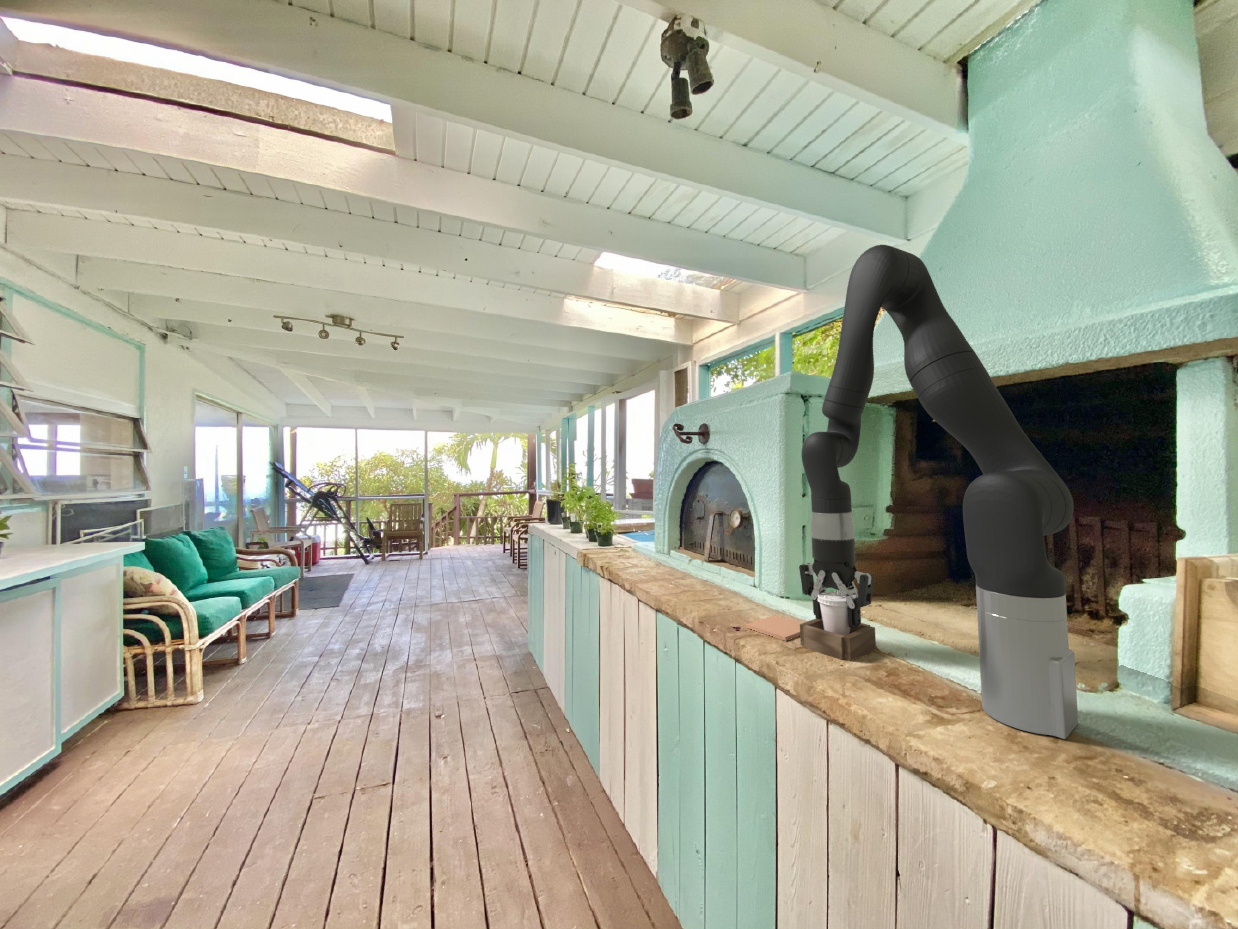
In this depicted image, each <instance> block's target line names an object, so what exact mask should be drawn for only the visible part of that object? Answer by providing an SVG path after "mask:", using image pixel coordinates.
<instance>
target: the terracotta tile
mask: <svg viewBox="0 0 1238 929" xmlns="http://www.w3.org/2000/svg"><path fill="white" fill-rule="evenodd" d="M802 623H803V622H802V621H797V620H795V619H790V618H788V617H787V618H786V617H783V616H780V615H777V614H774V615H771V616H769V617H765V618H762V619H759V620H755V621H753V622H750V623H746V624H745V627H747V628H749V629H748V630H750V629H752V630H751V631H753V630H755V631H754V632H756V631H757V632H756V633H759V632H763V633H765V634H767V635H766V636H768V635H770V636H769V637H771V636H773V637H772V638H774V637H775V638H774V639H777V638H780V639H782V640H781V641H783V640H785V641H784V642H787V641H786V640H788V641H789V639H790V640H792V639H791V638H793V639H795V638H797V637H800V624H802ZM747 628H746V629H747ZM765 634H764V635H765ZM780 639H779V640H780Z"/></svg>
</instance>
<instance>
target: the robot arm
mask: <svg viewBox="0 0 1238 929" xmlns="http://www.w3.org/2000/svg"><path fill="white" fill-rule="evenodd" d="M843 308H844V309H843V315H842V322H841V327H840V328H841V329H840V335H839V341H838V347H837V348H838V349H837V354H836V358H835V363H834V367H833V371H832V374H831V377H830V380H829V383H828V386H827V389H826V392H825V396H824V399H823V401H822V402H823V403H822V407H821V413H822V414H823V416H824V417H826V418H827V420H828V421H827V427H826V428H827V429H826V431H816V432H812V433H811V434H809V435H808V436H807V437H806V438H805V440H804V441H803V444H802V448H801V462H802V466H803V470H804V473H805V476H806V480H807V483H808V485H809V488H810V493H811V494H810V498H811V500H810V501H811V518H810V521H811V522H810V532H811V533H810V534H811V551H812V552H811V553H812V554H811V555H812V558H813V563H812V564H811V563H809V562H806V563H803V564H800V565H799V567H798V569H799V577H800V582H801V587H802V593H803V595H805V596H806V595H807V596H809V597H810V598H811V599H812V609H813V610H812V612H813V615H814V616H815V619H819V620H820V619H822V613H821V608H820V602H818V594H820V593H825V592H827V590H828V589H833V590H835V591H836V590H840V593H841V595H842V596H843V597H845V599H846V601H847V603H848V606H849V608H848V622H849V627H850V628H856V627H858V625H860V623H862V614H861V613H862V612H861V611H862V610H861V608H863V607H867V606H870V605H871V604H872V598H873V597H872V596H873V586H874V585H873V584H874V575H873V573H871V572H867V573H865V572H861V571H858V569H857V567H856V565H855V562H856V545H855V542H856V541H855V525H854V523H855V522H854V519H853V510H852V493H851V487H850V485H849V484H848V483H847V482H845V481H844V480H843V481H842V480H841V476H840V473H839V468H844V467H846V466H848V465H849V464H850V463H851V462H852V461H853V459H854V458H855V456H856V455H857V452H858V449H859V445H860V439H861V438H860V437H861V430H862V415H863V413H864V409H865V407H866V404H867V401H868V399H869V395H870V392H871V389H872V385H873V381H874V375H875V360H874V359H875V358H874V357H875V356H874V333H875V327H876V322H877V319H878V317H879V313H880V311H881V308H882V309H883V310H885V312H886V313H887V314H888V315H889V316H890V318H891V319H892V321H893V322H894V324H895V326H896V327H897V328H898V330H899V332H900V334H901V337H902V340H903V344H904V346H903V347H904V348H903V349H904V350H903V353H904V354H903V355H904V356H903V358H904V360H903V361H904V364H903V365H904V371H905V375H906V377H907V380H908V382H909V384H910V386H911V388H912V389H913V391H914V392H913V393H915V396H916V397H917V399H918V401H919V403H920V404H921V406H922V408H923V409H924V410H925V411H926V413H927V414H928V415H929V416H930V417H931V418H932V419H933V421H935V422H936V423H937V424H938V425H939V426H941V428H943V429H944V430H945V431H946V432H947V433H948V434H949V435H951V436H952V437H953V438H955V440H957V442H959V443H960V444H961V445H962V446H963V447H964V448H965V449H966V450H967V451H968V452H969V454H970V455H971V457H973V459H974V460H975V462H976V464H977V465H978V467H979V469H980V471H981V472H982V475H980V476H978V477H976V478H975V479H974V480H973V481H971V482H970V484H969V485H968V487H967V489H966V490H965V493H964V496H963V502H962V518H963V519H962V521H963V529H964V530H963V531H964V539H965V547H966V556H967V561H968V563H969V566H970V568H971V570H972V571H973V573H974V576H975V591H976V592H975V595H976V596H975V597H976V613H977V632H978V634H977V635H978V636H977V637H978V650H979V651H978V652H979V654H978V655H979V656H978V657H979V672H980V673H979V674H980V696H981V704H982V706H981V707H982V709H983V711H984V712H985V713H986V714H987V715H988V716H990V718H992V719H994V720H996V721H998V722H1000V723H1002V724H1005V725H1007V726H1009V727H1012V728H1015V729H1017V730H1021V731H1025V732H1029V733H1032V734H1039V735H1046V736H1047V735H1049V736H1053V737H1057V738H1060V739H1062V740H1066V739H1067V738H1068V736H1070V735H1071V733H1072V731H1074V729H1075V728H1076V726H1077V725H1078V724H1079V715H1078V712H1079V711H1078V698H1077V697H1078V696H1077V679H1076V678H1077V677H1076V661H1075V660H1076V658H1075V657H1076V656H1075V651H1074V650H1073V649H1071V648H1070V647H1069V646H1070V645H1069V631H1068V611H1067V594H1066V593H1067V590H1066V589H1067V588H1066V578H1065V575H1064V573H1063V572H1062V571H1061V570H1060V569H1058V568H1057V567H1054V566H1052V564H1050V562H1049V560H1048V557H1047V552H1046V544H1045V542H1046V541H1045V536H1049V535H1054V534H1056V533H1058V532H1061V531H1062V530H1064V529H1065V528H1066V527H1067V526H1068V525H1069V523H1070V522H1071V520H1072V518H1073V516H1074V515H1073V514H1074V508H1075V506H1074V499H1073V496H1072V493H1071V491H1070V490H1069V488H1068V486H1067V484H1066V483H1065V482H1064V480H1063V479H1062V478H1061V476H1060V475H1059V474H1058V473H1057V471H1055V469H1054V468H1053V467H1052V465H1051V464H1050V463H1049V462H1048V461H1047V460H1046V459H1045V457H1044V456H1043V455H1042V453H1041V452H1040V451H1039V450H1038V449H1037V447H1036V446H1035V445H1034V443H1033V442H1032V441H1031V440H1030V438H1029V437H1028V436H1027V434H1026V433H1025V431H1024V429H1022V427H1021V426H1020V424H1019V422H1018V421H1017V419H1016V417H1015V415H1014V414H1013V412H1012V411H1011V409H1010V407H1009V406H1008V404H1007V402H1006V401H1005V398H1003V396H1002V394H1001V393H1000V391H999V390H998V388H997V386H996V385H995V383H994V381H993V378H991V376H990V374H989V372H988V370H987V369H986V367H985V366H984V364H983V363H982V361H981V359H980V358H979V356H978V354H977V353H976V351H975V350H974V349H973V347H972V345H971V344H970V343H969V341H968V340H967V339H966V337H965V335H964V334H963V332H962V330H961V329H960V328H959V326H958V325H957V323H956V321H955V320H954V319H953V318H952V316H951V315H950V314H949V312H948V310H947V309H946V307H945V306H944V304H943V302H942V300H941V298H940V295H939V293H938V291H937V288H936V286H935V283H934V281H933V279H932V276H931V274H930V272H929V270H928V268H927V266H926V264H925V262H924V261H923V260H922V259H921V258H920V257H918V256H917V255H915V254H913V253H910V252H908V251H905V250H903V249H900V248H898V247H894V246H892V245H888V244H878V245H874V246H872V247H869V248H868V249H866V250H865V251H864V252H863V253H861V254H860V256H859V257H858V258H857V259H856V260H855V263H854V265H853V266H852V269H851V270H850V275H849V279H848V283H847V289H846V295H845V302H844V307H843ZM814 574H815V576H816V577H817V578H816V580H815V579H814ZM855 579H856V581H857V582H856V583H857V584H858V589H857V586H856V585H855V582H854V580H855ZM814 580H815V581H814Z"/></svg>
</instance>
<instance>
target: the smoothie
mask: <svg viewBox="0 0 1238 929" xmlns="http://www.w3.org/2000/svg"><path fill="white" fill-rule="evenodd" d="M835 591H836V592H834V591H833V592H832V591H829V592H828V591H826V592H825V593H820V594H818V602H820V608H821V613H822V619H823V625H824V630H826V631H829V632H833V633H836V634H840V635H843V636H846V635H848V634H850V627H849V622H848V608H849V606H848V603H847V601H846V599H845V597H843V596H842V595H841V592H840V590H836V589H835Z"/></svg>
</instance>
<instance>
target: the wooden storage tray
mask: <svg viewBox="0 0 1238 929" xmlns="http://www.w3.org/2000/svg"><path fill="white" fill-rule="evenodd" d="M799 637H800V638H799V639H800V646H802V647H804V649H808V650H810V651H814V652H817V653H820V654H823V655H825V656H826V655H827V656H829V657H832V658H836V659H839V660H841V661H843V660H846V661H849V662H852V661H854V660H856V659H858V658H860V657H862V656H865V655H867V654H869V653H871V652H873V651H875V650H876V649H877V643H876V642H877V641H876V640H877V639H876V627H875V626H871V625H870V624H868V623H863V622H861V623H860V625H858V627H856V628H850V634H848V635H846V636H843V635H840V634H836V633H833V632H829V631H826V630H824V625H823V619H820V620H819V619H816V618H814V619H811V620H810V619H809V620H808V621H805V622H802V624H800V636H799Z"/></svg>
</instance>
